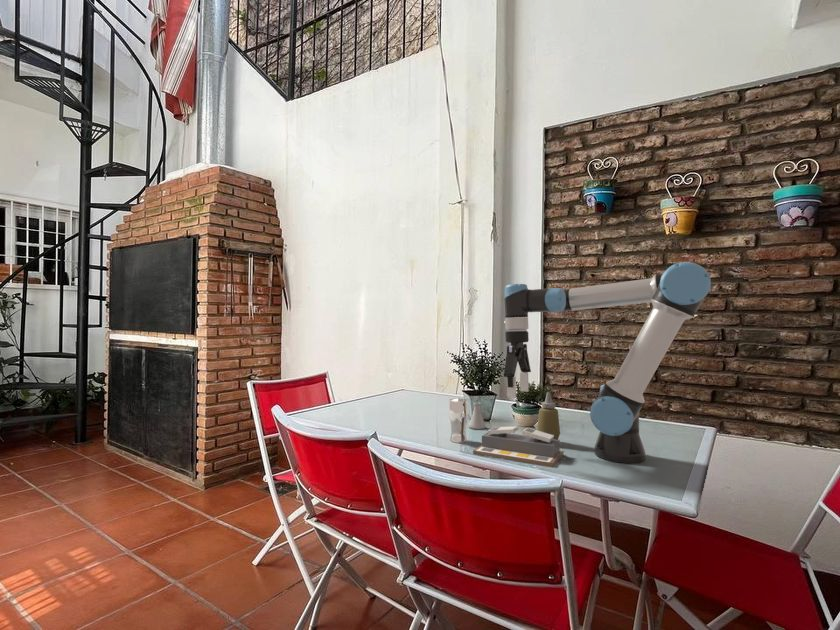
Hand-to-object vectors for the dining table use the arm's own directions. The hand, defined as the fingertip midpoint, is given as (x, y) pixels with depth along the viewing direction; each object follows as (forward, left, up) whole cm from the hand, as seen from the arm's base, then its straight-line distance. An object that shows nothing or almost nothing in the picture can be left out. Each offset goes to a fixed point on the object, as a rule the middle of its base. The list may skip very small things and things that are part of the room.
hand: (518, 394), depth 153 cm
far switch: (+5, 0, -13) cm, 14 cm away
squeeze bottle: (-6, -17, -20) cm, 27 cm away
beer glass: (+23, -3, -20) cm, 31 cm away
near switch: (-7, 0, -13) cm, 14 cm away
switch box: (-1, +2, -19) cm, 20 cm away
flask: (+25, -25, -20) cm, 41 cm away
